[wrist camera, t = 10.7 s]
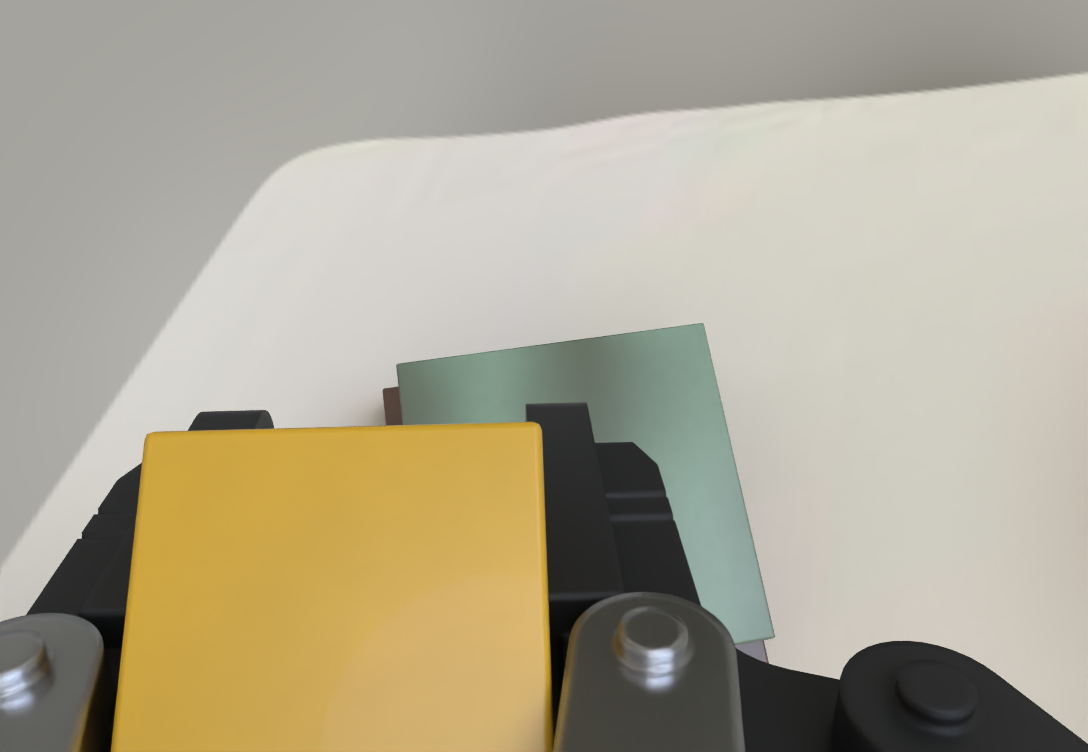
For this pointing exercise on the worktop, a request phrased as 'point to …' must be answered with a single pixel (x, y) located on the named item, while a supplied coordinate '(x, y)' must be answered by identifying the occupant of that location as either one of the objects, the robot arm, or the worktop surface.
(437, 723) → the bar
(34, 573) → the worktop surface
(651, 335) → the two-tone stepped base
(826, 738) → the robot arm
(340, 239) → the worktop surface
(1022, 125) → the worktop surface
